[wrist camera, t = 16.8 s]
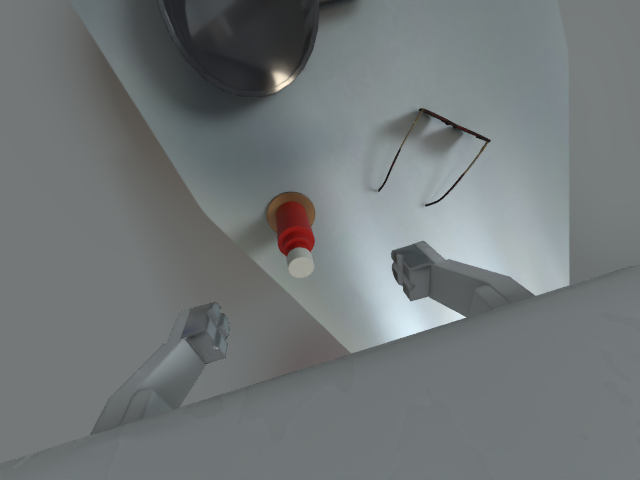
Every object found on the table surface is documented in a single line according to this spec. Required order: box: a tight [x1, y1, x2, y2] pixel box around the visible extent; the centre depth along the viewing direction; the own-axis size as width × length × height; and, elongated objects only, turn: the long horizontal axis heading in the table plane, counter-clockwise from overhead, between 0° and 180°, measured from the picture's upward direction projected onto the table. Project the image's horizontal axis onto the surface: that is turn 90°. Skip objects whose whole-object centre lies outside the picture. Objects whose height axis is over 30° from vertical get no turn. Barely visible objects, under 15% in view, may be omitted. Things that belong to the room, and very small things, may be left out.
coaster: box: [267, 192, 315, 233], centre depth 46 cm, size 9×9×1 cm
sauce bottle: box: [276, 202, 315, 278], centre depth 38 cm, size 6×6×16 cm
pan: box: [158, 0, 319, 97], centre depth 29 cm, size 17×17×5 cm
